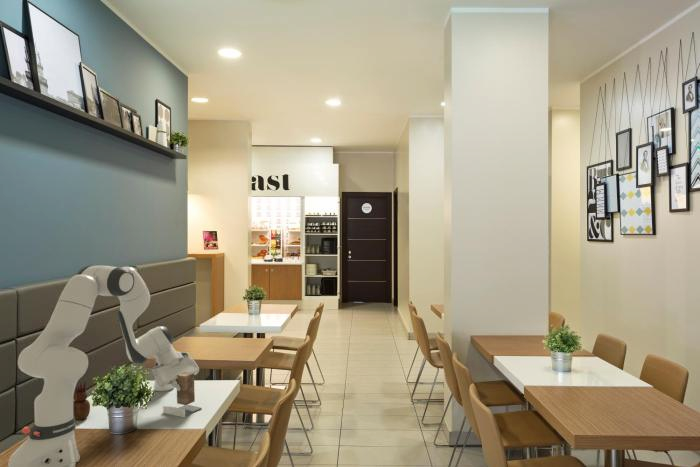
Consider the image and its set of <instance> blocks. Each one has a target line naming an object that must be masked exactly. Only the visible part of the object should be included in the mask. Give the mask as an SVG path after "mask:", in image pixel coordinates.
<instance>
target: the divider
mask: <svg viewBox="0 0 700 467" xmlns="http://www.w3.org/2000/svg"><path fill="white" fill-rule="evenodd" d="M162 413H163V414H167V415H171V416H175V417H179V418H183V419H184V418H185V417H186V416H185V410H184V409H180V408H179V407H175V406H170V405H166V404H164V405H162Z"/></svg>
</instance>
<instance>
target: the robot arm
mask: <svg viewBox="0 0 700 467" xmlns="http://www.w3.org/2000/svg"><path fill="white" fill-rule="evenodd" d="M147 286H148V285H147V284H146V282H145V281H144V279H143V278H142V277H141V275H140V273H139V272H138V271H137V270H136V269H135V267H131V266H118V267H117V266H112V265H107V264H105V265H100V264H99V265H95V264H91V265H90V264H89V265H86V266H83V267H82V268H80V269H79V270H78V272H77V273H76V274H75V275H73V276H72V277H70V279H69V280H68V282H66V285H65V286H64V288H63V290H62V291H61V293H60V295H59V298H58V300H57V303H56V305H55V308H54V310H53V312H52V314H51V316H50V319H49V321H48V322H47V325H46V326H45V327H44V329H43V330H42V332H41V333H40V334H39V336H38V337H37V338H36V339H35V340H34V341H33V342H32V343H31V344H30V345H28V346H26V347H25V348H24V349H22V351H21V352H20V353H19V355H18V359H17V367H18V369H19V370H20V371H21V372H22V373H24V374H26V375H28V376H29V377H32V378H38V379H43V387H42V390H41V393H40V394H38V395H37V396H36V397H35V399H34V402H33V403H34V406H33V407H34V423H33V425H32V427H31V428H30V427H28V426H24V427H23V428H22V430H21V432H22V433H23V434H25V435H28V438H26V440H25V441H24V442H23V443H22V444H21V445H20V446H19V447H18V448H17V449H16V450H15V451H14V452H12V454H10V456H9V459H8V463H7V467H76V464H77V463H78V462H79V461H80V458H81V455H80V453H79V450H78V447H77V443H76V442H77V441H76V436H75V430H76V420H75V417H74V416H73V402H74V394H75V390H76V386H77V383H78V381H79V380H80V379H81V378H82V377H83V376H84V375H85V374H86V371H87V370H88V367H89V357H88V355H87V354H86V353H85V352H84V351H82V350H80V349H78V348H75V347H73V346H69V345H70V344H71V343H72V342H73V340H74V339H76V338H77V337H79V336H80V335H81V334H83V333H84V331H85V329H86V327H87V325H88V321H89V320H90V317H91V313H92V311H93V308H94V306H95V302H96V299H97V297H98V296H103V297H117V298H118V300H119V304H120V305H119V306H120V307H119V310H118V311H117V314H116V316H117V322H118V326H119V330H120V332H121V335H122V339H123V342H124V346H125V351H126V356H127V358H128V360H129V361H130V362H132V364H137V365H140V364H144V363H145V362H146V361H148V360H149V359H150V358H152V357H154V359H155V358H156V361H157V363H158V366H155V365H154V366H152V368H151V373H152V374H153V377H154V381H155V380H156V382H157V384H158V385H159V386H160V387H163V386H166V385H169V384H171V385H172V386H173V387H174V389H176V391H177V390H178V391H180V390H182V389H183V387H182V386H181V385H179V384H177V379H178V376H177V375H178V374H181V373H184V372H190V373H194V376H196V375H197V374H198V373H199V372H200V367H199V366H198V364H197V362H196V361H195V360H194V359H193V358H192V357H191V354H190V353H189V352H187V351H185V352H183V351H178V350H176V348H174V346H173V347H172V345H173V343H174V336H173V335H172V334H171V332H170V331H169V329H168V327H167V326H164V325H163V326H161V325H159V326H156V327H154V328H152V329H149V330H148V331H147V332H146V333H144V334H143V335H140V336H138V338H136V336H135V333H134V330H133V326H134V323H135V322H136V320H137V319H138V318H139V317H140V316H141V315H142V314H143V313H144V312H145V311H146V310H147V308H148V307H149V305H150V303H151V294H150V291H149V289H148V287H147ZM76 462H77V463H76Z"/></svg>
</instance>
